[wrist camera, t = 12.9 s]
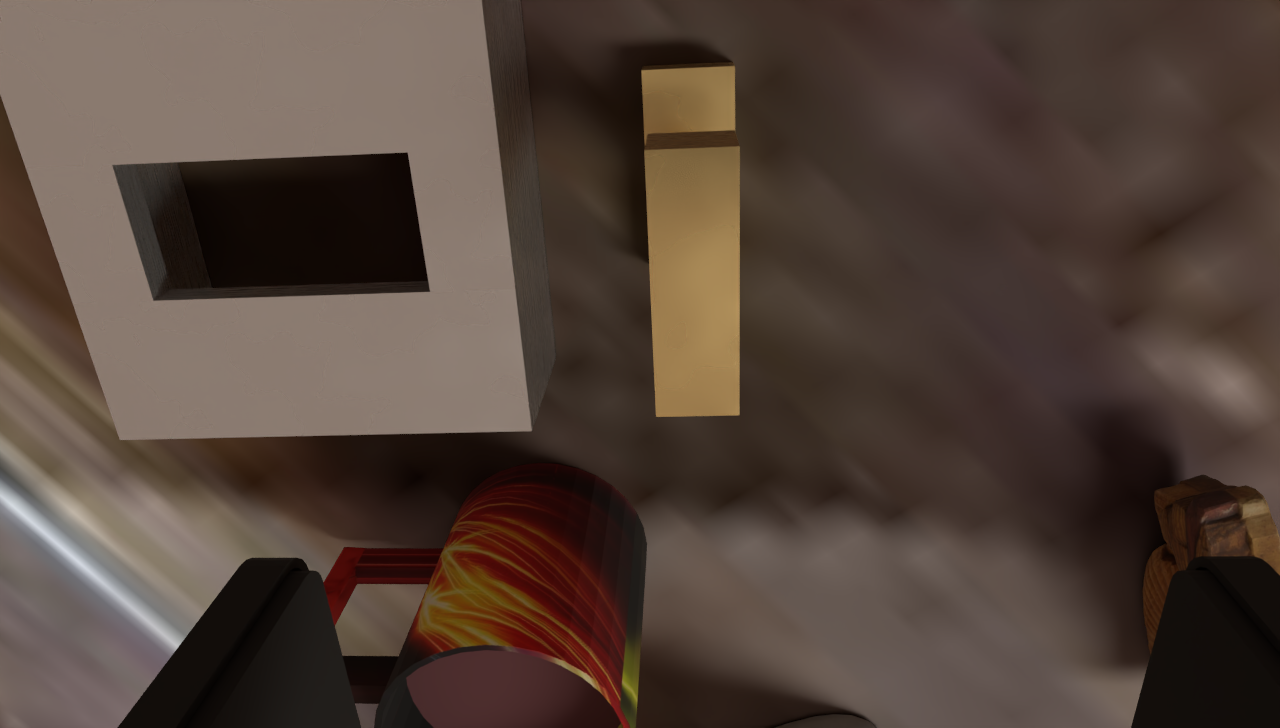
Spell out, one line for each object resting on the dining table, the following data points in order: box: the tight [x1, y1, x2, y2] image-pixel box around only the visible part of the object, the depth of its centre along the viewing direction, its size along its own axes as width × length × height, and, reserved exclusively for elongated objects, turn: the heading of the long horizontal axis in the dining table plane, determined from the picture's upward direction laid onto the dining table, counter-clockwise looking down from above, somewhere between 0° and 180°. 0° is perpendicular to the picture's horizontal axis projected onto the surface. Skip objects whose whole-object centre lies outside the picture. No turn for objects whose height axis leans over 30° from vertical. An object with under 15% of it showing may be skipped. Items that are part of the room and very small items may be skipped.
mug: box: [324, 463, 647, 728], centre depth 37 cm, size 10×14×12 cm
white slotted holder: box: [0, 0, 556, 440], centre depth 32 cm, size 16×16×7 cm
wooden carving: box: [1142, 475, 1280, 655], centre depth 37 cm, size 16×5×10 cm, turn 20°
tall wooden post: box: [641, 62, 740, 417], centre depth 28 cm, size 3×8×14 cm, turn 2°
